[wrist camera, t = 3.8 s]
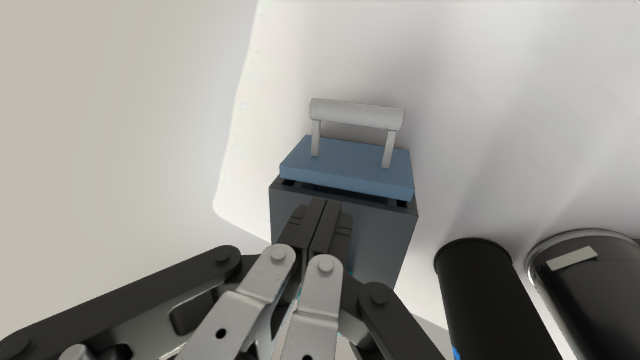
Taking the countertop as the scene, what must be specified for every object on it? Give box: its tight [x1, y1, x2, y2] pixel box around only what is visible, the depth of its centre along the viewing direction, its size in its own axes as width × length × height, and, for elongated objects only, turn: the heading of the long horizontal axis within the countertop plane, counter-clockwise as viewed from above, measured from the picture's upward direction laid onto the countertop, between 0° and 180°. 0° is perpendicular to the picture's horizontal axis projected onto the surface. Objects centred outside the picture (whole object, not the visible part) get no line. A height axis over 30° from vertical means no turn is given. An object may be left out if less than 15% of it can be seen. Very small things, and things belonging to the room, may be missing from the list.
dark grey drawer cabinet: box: [269, 174, 418, 299], centre depth 26 cm, size 14×12×9 cm
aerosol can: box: [433, 238, 563, 360], centre depth 21 cm, size 8×8×20 cm
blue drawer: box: [279, 98, 415, 206], centre depth 24 cm, size 17×10×7 cm, turn 177°
